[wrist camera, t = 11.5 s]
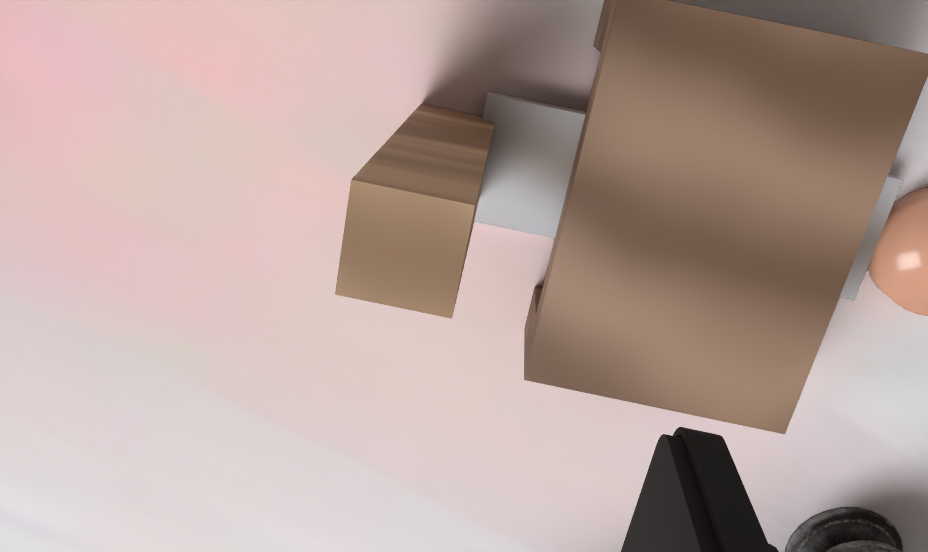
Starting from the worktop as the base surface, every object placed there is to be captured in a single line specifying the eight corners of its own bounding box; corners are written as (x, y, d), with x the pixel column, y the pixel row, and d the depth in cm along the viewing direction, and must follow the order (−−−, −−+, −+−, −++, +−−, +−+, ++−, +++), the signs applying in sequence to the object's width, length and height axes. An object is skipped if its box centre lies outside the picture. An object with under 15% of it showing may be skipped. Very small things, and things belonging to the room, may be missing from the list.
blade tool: (425, 78, 30) (357, 138, 18) (891, 174, 30) (1137, 299, 18) (404, 200, 32) (329, 329, 20) (844, 291, 32) (1040, 476, 20)
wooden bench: (607, -10, 29) (621, -10, 24) (872, 45, 29) (935, 55, 24) (524, 328, 34) (524, 379, 29) (750, 375, 34) (784, 434, 29)
